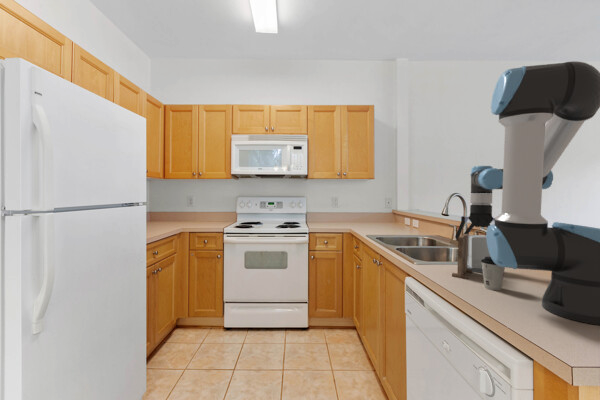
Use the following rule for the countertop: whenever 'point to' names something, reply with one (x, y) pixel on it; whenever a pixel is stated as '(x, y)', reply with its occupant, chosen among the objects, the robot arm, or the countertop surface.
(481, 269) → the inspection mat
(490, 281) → the coffee cup
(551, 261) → the robot arm
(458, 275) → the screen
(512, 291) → the countertop surface
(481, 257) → the supplement box
